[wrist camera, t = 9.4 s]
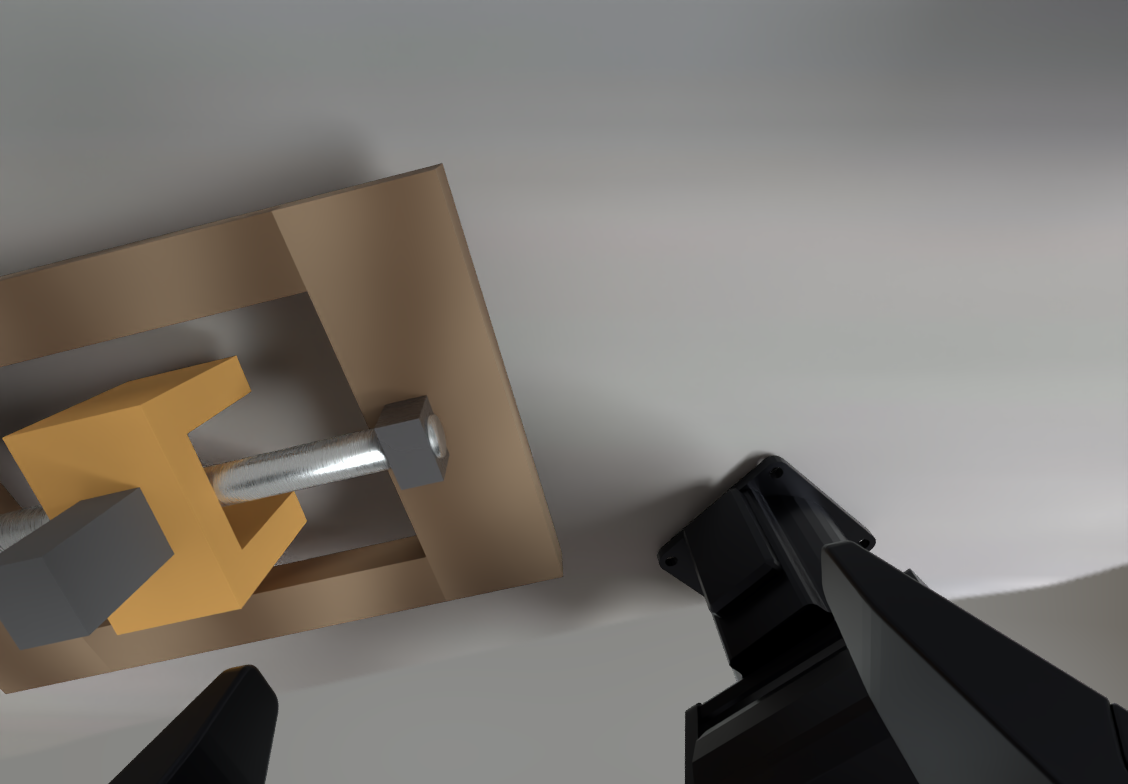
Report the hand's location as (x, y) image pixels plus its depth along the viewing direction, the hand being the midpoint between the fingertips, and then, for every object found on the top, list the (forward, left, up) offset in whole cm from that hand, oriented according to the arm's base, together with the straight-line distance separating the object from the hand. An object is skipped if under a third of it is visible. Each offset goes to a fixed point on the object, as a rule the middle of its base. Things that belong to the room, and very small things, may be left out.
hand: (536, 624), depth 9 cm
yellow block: (+6, +9, -10) cm, 15 cm away
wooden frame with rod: (+6, +9, -12) cm, 16 cm away
